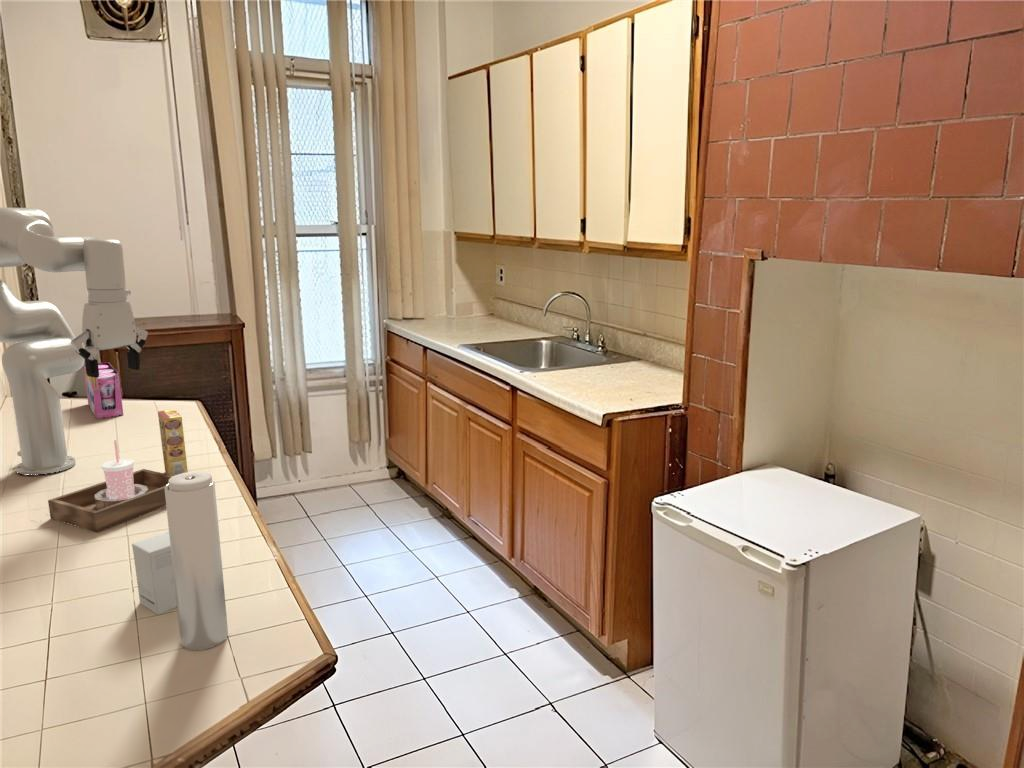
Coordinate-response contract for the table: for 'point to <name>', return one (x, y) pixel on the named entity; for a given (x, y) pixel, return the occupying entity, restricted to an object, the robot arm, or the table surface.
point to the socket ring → (104, 501)
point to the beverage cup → (119, 476)
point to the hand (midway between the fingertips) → (114, 372)
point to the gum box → (104, 391)
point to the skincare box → (155, 573)
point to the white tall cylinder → (196, 560)
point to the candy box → (172, 442)
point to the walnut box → (85, 515)
